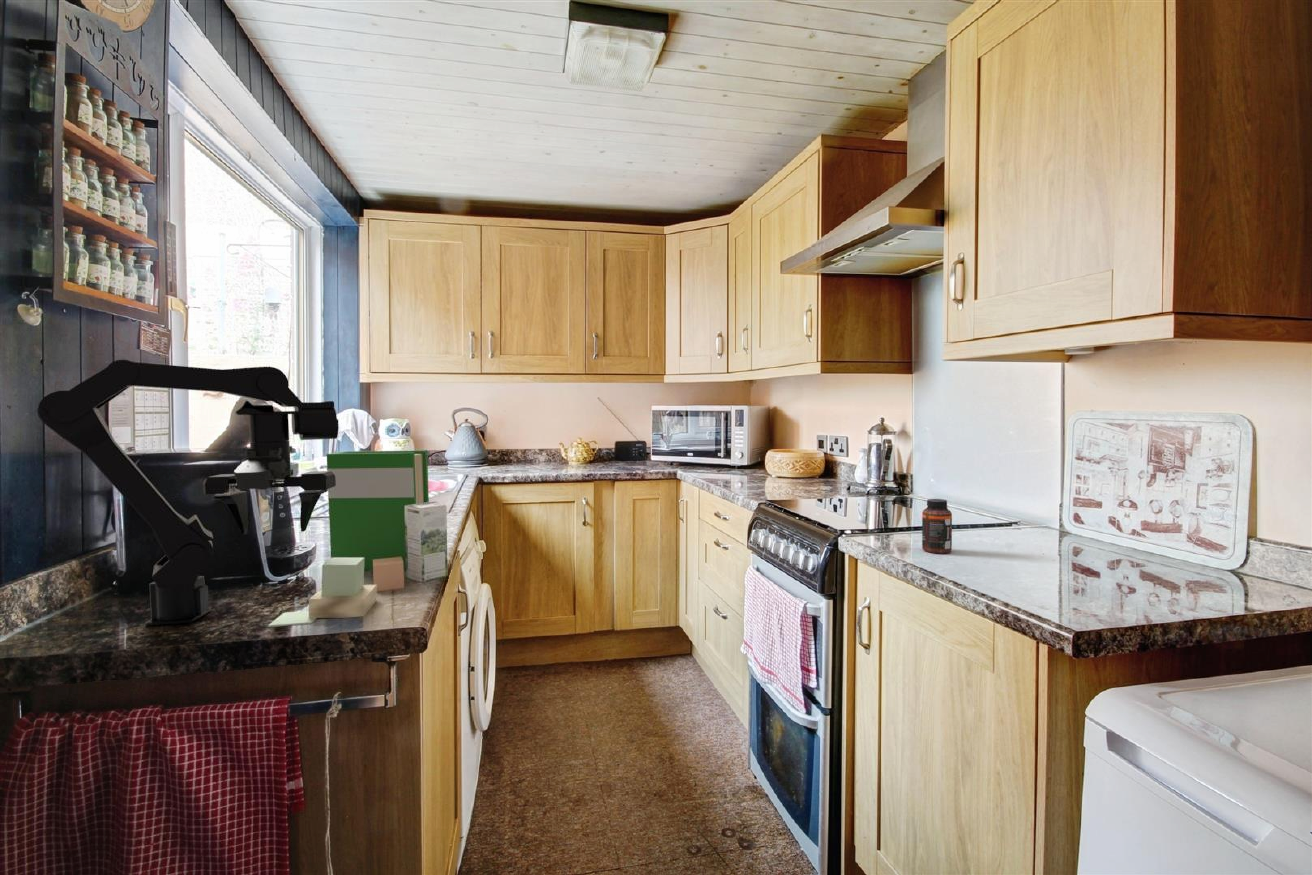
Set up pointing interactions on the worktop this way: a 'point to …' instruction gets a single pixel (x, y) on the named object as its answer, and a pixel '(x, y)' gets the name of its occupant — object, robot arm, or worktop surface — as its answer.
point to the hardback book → (374, 501)
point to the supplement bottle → (937, 527)
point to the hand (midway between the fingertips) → (274, 532)
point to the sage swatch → (292, 619)
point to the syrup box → (426, 541)
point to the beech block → (342, 604)
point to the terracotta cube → (388, 573)
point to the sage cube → (342, 576)
